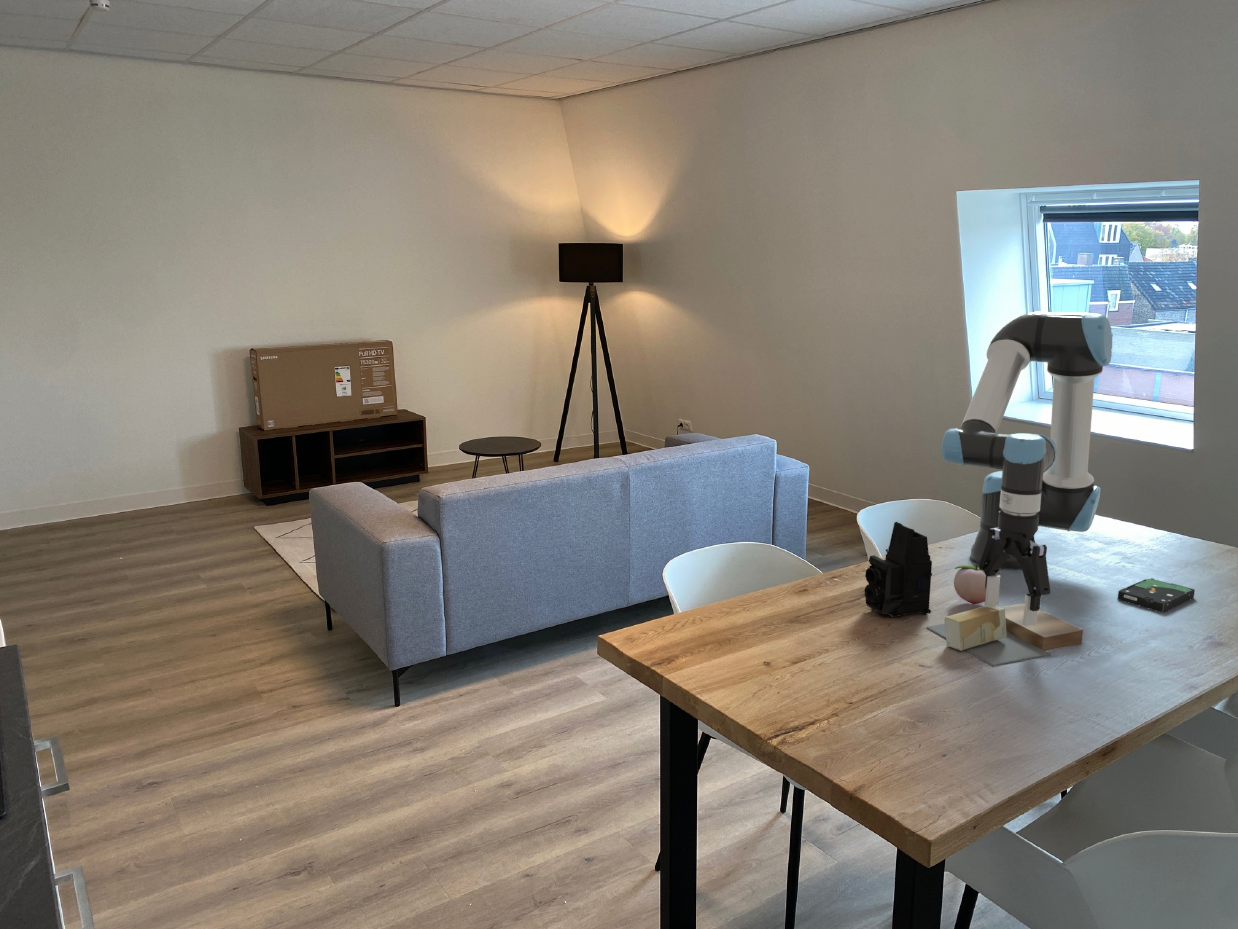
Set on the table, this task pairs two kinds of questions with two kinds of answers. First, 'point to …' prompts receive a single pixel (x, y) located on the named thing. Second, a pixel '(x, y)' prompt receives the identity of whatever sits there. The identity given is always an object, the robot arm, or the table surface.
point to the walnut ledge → (1042, 629)
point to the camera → (900, 575)
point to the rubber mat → (1000, 648)
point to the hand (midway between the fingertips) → (1010, 614)
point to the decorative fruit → (970, 584)
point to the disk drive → (1156, 594)
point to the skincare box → (975, 627)
